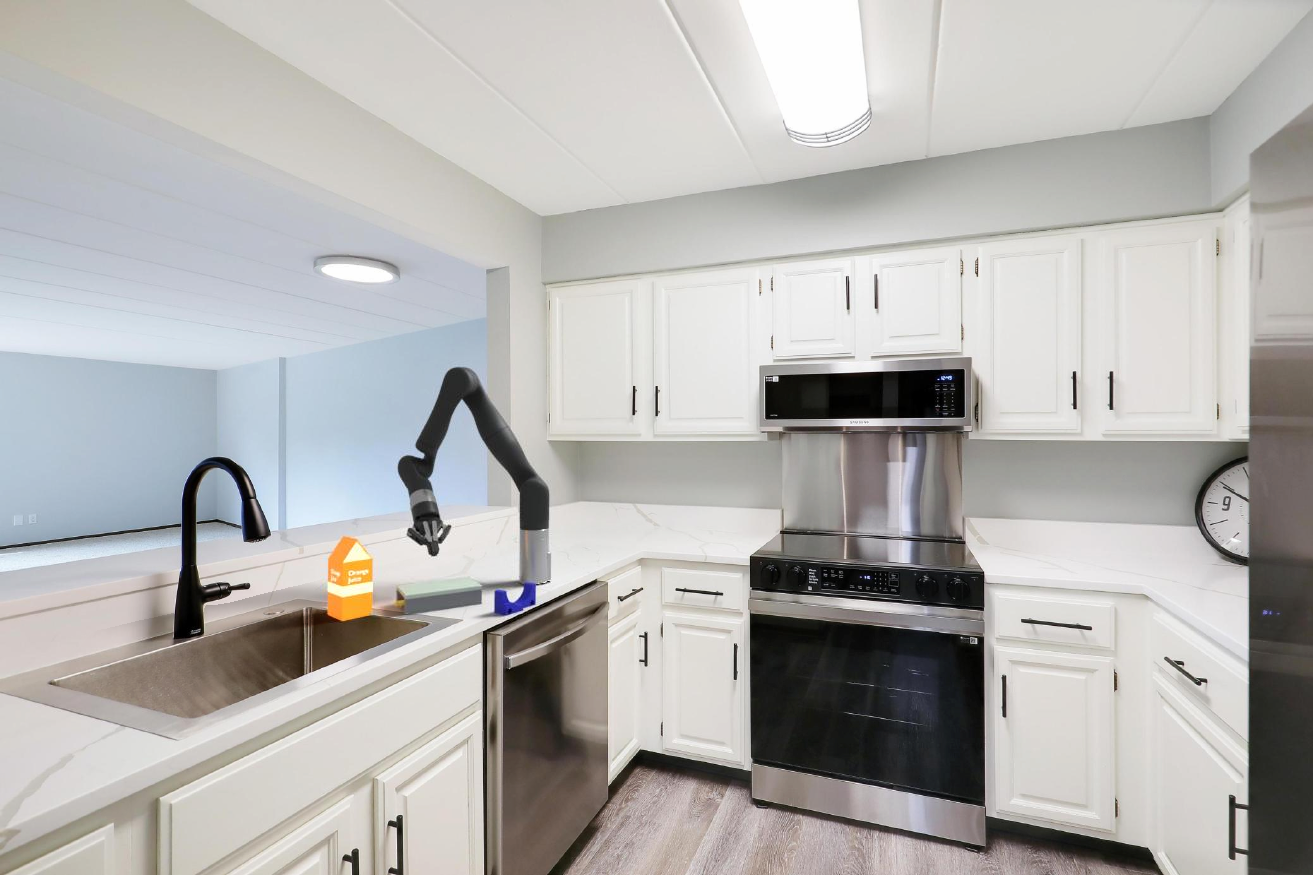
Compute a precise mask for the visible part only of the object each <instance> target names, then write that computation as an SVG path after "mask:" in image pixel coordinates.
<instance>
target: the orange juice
mask: <svg viewBox="0 0 1313 875" xmlns="http://www.w3.org/2000/svg"><path fill="white" fill-rule="evenodd" d="M373 560H374V558H373V557H371V555H370V554H369V552H368V551H367V550H366V548H365V547H364V546H363V544H362V543H361V542H360V541H359V538H355V537H354V538H353V537H350V536H345V535H343V536H342V537H341V539H340V540H339V542H338V543H337V545H336V546H335V547H334V549H333V551H331V554H330V556H329V557H328V558H327V615H328V616H330V617H332V618H334V619H337V620H339V621H341V622H345V621H348V620H354V619H358V618H362V617H366V616H370V615H369V613H372V614H373V592H374V588H373V587H374V586H373V585H374V583H373V575H374V574H373V567H374V566H373V565H374V564H373V563H374V561H373Z"/></svg>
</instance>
